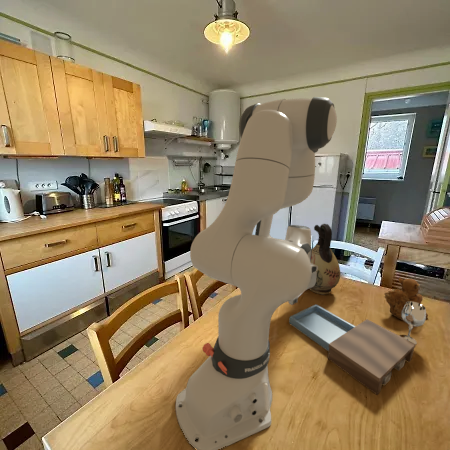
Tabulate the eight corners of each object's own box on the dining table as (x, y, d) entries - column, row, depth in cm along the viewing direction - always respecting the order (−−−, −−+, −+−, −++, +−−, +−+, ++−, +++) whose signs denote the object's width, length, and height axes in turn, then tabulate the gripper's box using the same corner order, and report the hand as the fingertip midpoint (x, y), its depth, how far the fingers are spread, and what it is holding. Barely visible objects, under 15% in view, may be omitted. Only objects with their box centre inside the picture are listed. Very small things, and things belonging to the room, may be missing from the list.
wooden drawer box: (376, 395, 56) (379, 378, 55) (326, 359, 67) (328, 343, 66) (412, 359, 67) (415, 344, 66) (364, 332, 78) (367, 319, 76)
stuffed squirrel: (429, 317, 86) (437, 283, 83) (404, 327, 80) (412, 292, 77) (400, 303, 95) (406, 272, 91) (376, 311, 89) (382, 278, 86)
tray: (338, 358, 67) (339, 350, 67) (289, 323, 82) (289, 316, 81) (364, 338, 75) (365, 332, 74) (315, 310, 89) (315, 304, 89)
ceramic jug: (296, 280, 112) (301, 217, 105) (329, 281, 112) (337, 218, 104) (306, 300, 96) (314, 227, 88) (346, 301, 95) (356, 228, 88)
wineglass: (423, 348, 71) (432, 312, 68) (401, 345, 72) (409, 310, 69) (413, 334, 77) (421, 301, 74) (393, 332, 78) (400, 299, 75)
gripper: (281, 280, 78) (278, 317, 81) (321, 265, 89) (317, 298, 92) (268, 272, 83) (266, 307, 86) (306, 259, 94) (303, 291, 97)
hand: (292, 303), depth 89 cm, fingers closed
